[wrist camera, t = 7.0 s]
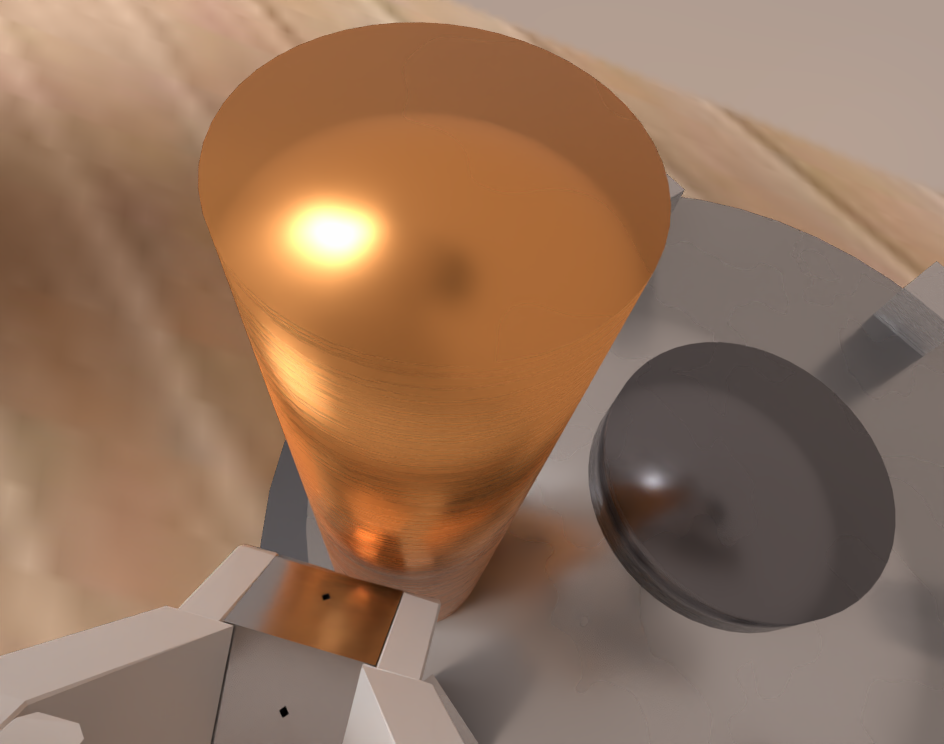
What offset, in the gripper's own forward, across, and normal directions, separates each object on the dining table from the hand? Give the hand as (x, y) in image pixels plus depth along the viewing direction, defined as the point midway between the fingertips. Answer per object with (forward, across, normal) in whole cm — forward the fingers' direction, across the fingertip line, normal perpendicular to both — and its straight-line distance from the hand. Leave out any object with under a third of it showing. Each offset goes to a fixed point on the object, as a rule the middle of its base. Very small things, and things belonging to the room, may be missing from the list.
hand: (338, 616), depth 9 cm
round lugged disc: (+8, -7, +1) cm, 11 cm away
